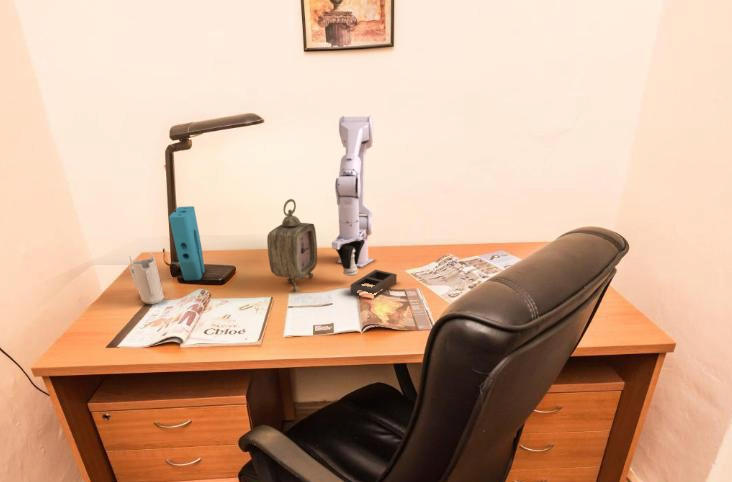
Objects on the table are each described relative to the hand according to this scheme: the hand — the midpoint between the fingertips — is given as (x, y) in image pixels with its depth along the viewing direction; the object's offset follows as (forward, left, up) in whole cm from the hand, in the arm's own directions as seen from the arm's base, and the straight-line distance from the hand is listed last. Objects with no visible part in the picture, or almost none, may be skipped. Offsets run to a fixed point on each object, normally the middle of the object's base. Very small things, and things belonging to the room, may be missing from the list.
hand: (350, 265), depth 144 cm
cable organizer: (-43, -38, -6) cm, 58 cm away
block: (-46, -20, -6) cm, 51 cm away
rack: (+8, 0, -5) cm, 10 cm away
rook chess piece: (0, 0, -3) cm, 3 cm away
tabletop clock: (-14, -9, -6) cm, 18 cm away
